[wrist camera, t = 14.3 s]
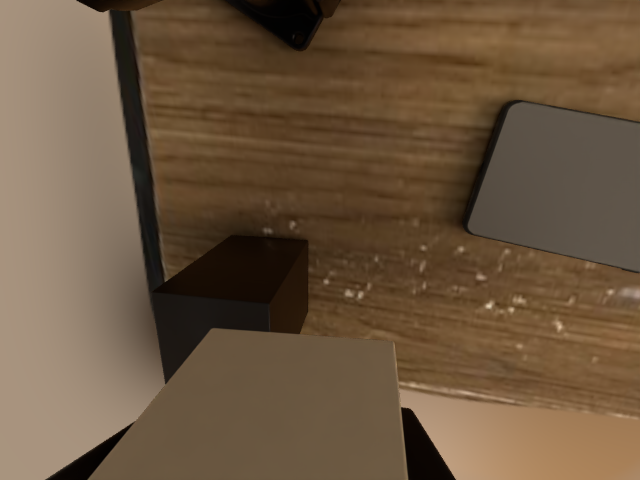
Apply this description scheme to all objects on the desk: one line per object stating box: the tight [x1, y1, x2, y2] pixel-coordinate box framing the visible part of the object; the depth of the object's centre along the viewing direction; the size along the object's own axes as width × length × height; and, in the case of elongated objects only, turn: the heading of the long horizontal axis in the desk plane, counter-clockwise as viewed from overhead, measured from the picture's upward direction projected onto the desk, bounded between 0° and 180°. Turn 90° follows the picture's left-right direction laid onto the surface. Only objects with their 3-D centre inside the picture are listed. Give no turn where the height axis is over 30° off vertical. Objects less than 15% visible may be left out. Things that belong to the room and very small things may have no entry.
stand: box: [151, 235, 308, 385], centre depth 17 cm, size 5×5×8 cm
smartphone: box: [462, 100, 640, 273], centre depth 16 cm, size 7×1×15 cm
